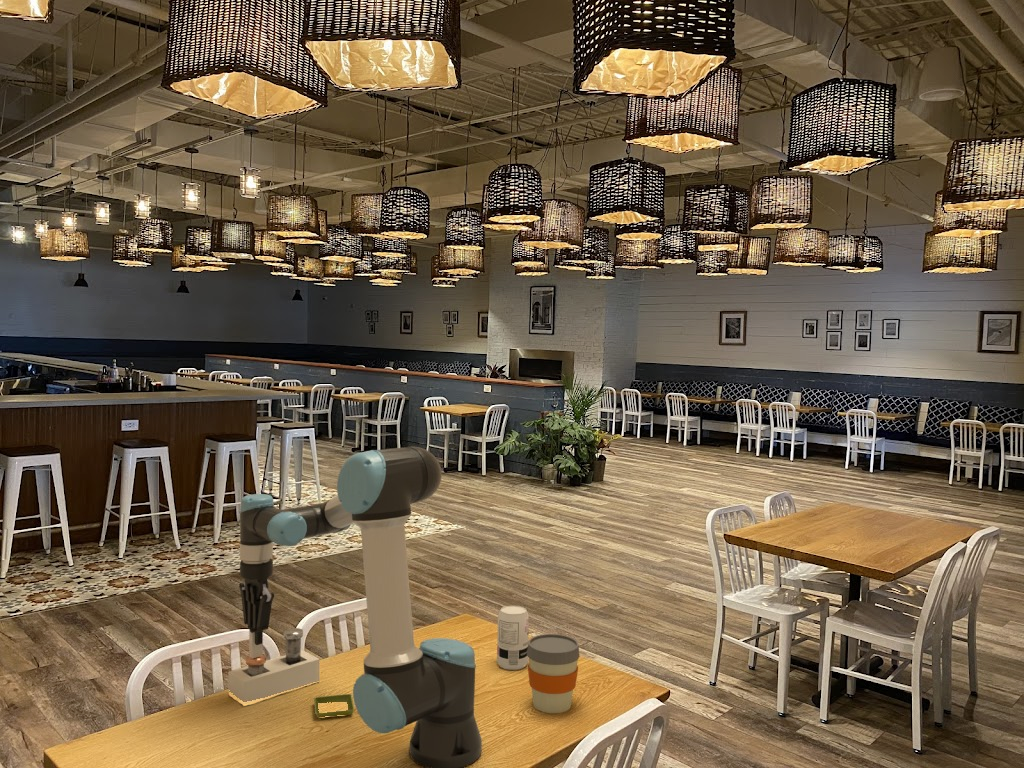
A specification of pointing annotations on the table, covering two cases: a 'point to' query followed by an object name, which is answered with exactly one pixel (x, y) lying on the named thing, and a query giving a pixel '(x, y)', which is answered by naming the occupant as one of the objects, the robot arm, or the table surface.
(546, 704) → the reusable coffee cup
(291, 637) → the grey plug
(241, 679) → the socket block
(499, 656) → the supplement can
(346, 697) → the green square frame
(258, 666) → the terracotta plug
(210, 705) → the table surface
